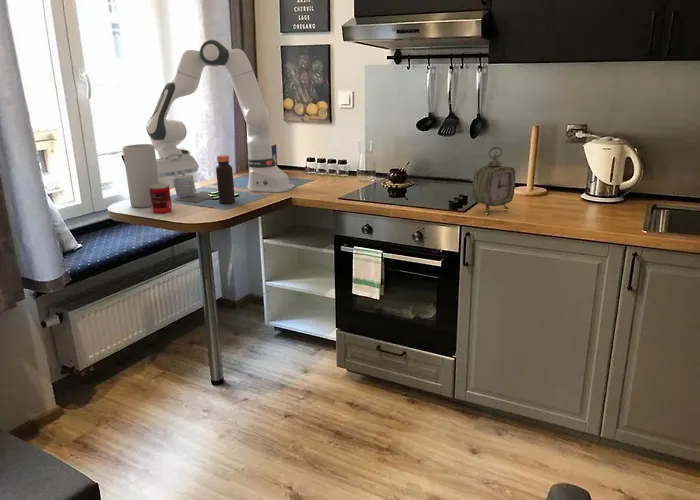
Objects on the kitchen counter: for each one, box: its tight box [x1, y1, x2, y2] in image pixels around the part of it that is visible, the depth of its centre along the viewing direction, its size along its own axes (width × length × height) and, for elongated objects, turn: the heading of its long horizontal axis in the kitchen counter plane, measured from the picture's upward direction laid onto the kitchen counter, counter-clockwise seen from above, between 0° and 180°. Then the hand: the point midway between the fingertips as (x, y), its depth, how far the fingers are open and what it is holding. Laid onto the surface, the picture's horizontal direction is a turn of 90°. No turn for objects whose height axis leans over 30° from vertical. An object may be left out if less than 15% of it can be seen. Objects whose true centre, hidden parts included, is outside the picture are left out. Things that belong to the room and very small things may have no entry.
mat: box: [175, 190, 212, 203], centre depth 257 cm, size 12×18×1 cm, turn 154°
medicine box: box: [172, 174, 197, 198], centre depth 256 cm, size 8×4×9 cm, turn 89°
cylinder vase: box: [122, 143, 160, 209], centre depth 241 cm, size 12×12×25 cm
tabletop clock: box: [472, 146, 516, 214], centre depth 216 cm, size 14×9×25 cm, turn 124°
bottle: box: [215, 154, 236, 205], centre depth 242 cm, size 7×7×20 cm
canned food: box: [149, 182, 173, 215], centre depth 231 cm, size 8×8×11 cm
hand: (183, 180), depth 258 cm, fingers closed
